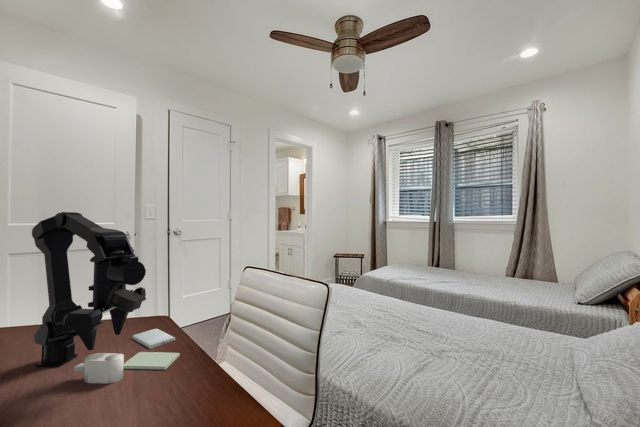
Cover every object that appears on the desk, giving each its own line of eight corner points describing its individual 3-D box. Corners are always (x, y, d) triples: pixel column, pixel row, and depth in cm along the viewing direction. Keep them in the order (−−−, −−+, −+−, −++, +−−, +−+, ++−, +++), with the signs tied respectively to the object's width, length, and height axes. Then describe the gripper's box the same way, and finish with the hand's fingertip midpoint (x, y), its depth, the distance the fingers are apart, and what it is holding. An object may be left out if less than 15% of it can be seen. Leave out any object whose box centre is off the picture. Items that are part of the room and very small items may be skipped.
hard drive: (132, 335, 98) (149, 345, 91) (157, 328, 104) (175, 336, 97) (132, 340, 98) (149, 350, 91) (157, 332, 104) (175, 341, 97)
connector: (69, 382, 72) (70, 360, 72) (83, 373, 75) (83, 352, 76) (116, 383, 72) (116, 361, 72) (126, 374, 76) (127, 353, 76)
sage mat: (121, 368, 79) (121, 365, 79) (139, 354, 87) (139, 351, 87) (165, 369, 79) (165, 366, 79) (179, 355, 87) (179, 352, 87)
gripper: (112, 290, 65) (110, 360, 64) (159, 274, 83) (157, 328, 83) (63, 289, 65) (60, 359, 64) (120, 273, 83) (118, 327, 83)
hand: (105, 341), depth 74 cm, fingers open, 9 cm apart
